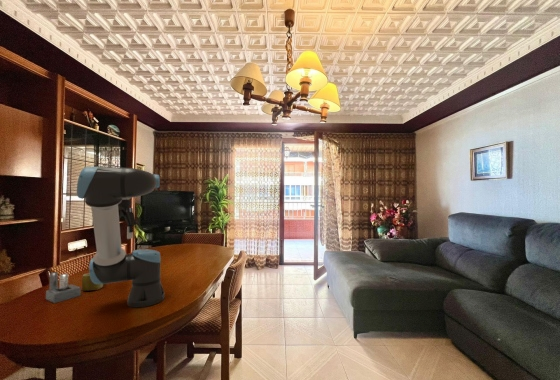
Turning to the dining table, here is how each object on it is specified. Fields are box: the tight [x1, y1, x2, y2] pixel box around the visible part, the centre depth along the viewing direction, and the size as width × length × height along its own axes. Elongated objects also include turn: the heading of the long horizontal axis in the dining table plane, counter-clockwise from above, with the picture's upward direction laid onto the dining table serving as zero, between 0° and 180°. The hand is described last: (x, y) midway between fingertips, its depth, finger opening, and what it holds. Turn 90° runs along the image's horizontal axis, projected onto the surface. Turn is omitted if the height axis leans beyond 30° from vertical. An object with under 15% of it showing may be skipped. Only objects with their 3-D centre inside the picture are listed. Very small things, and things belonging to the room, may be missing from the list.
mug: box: [81, 272, 104, 292], centre depth 130 cm, size 12×10×10 cm
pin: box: [58, 273, 69, 291], centre depth 118 cm, size 3×3×11 cm
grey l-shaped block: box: [45, 271, 82, 304], centre depth 120 cm, size 18×10×10 cm, turn 60°
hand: (122, 237), depth 134 cm, fingers open, 13 cm apart
